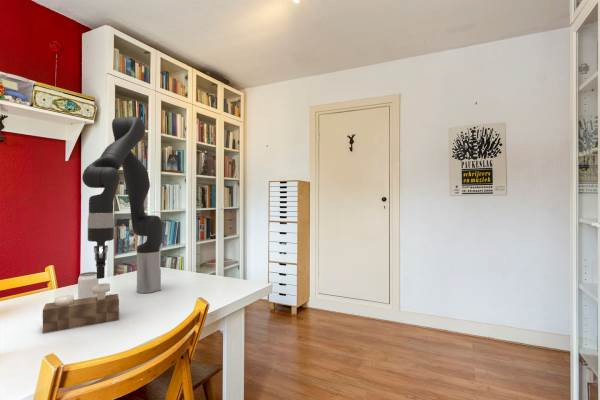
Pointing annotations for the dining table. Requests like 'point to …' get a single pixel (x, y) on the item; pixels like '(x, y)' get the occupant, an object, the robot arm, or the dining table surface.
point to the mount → (80, 313)
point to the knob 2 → (101, 290)
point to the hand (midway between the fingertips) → (100, 278)
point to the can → (87, 285)
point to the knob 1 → (64, 300)
